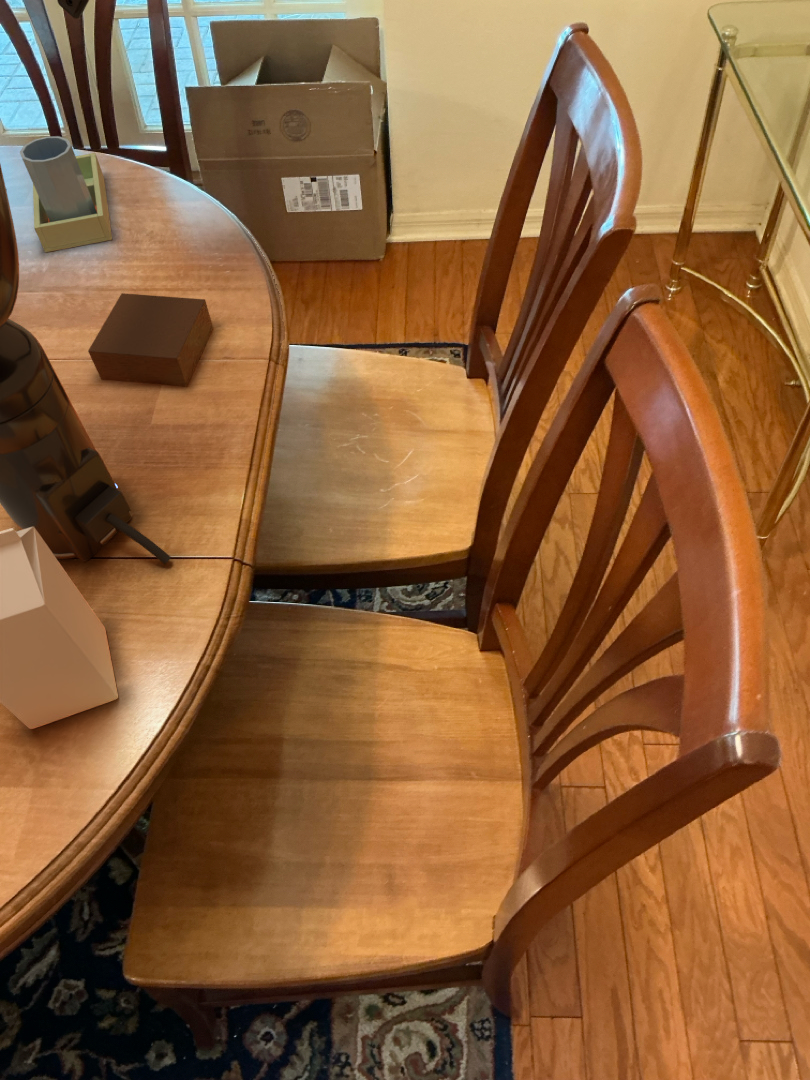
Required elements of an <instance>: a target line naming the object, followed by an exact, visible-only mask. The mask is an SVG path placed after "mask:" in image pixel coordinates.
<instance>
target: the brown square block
mask: <svg viewBox="0 0 810 1080" xmlns="http://www.w3.org/2000/svg"><path fill="white" fill-rule="evenodd" d="M213 330H214V325H213V322H212V318H211V315H210V311H209V308H208V303H207V300H206V299H205V298H193V297H192V298H190V297H181V296H180V297H179V296H177V297H176V296H163V295H151V294H139V293H138V294H137V293H124V292H123V293H122V292H121V293H120V295H119V297H118V298H117V300H116V302H115V304H114V306H113V307H112V309H111V311H110V312H109V314H108V315H107V318H106V320H105V321H104V323H103V325H102V327H101V328H100V330H99V331H98V333H97V334H96V337H95V338H94V340H93V342H92V344H91V345H90V347H89V348H88V351H87V352H88V355H89V356H90V358H91V361H92V363H93V365H94V367H95V369H96V372H97V373H98V376H99V378H100V379H101V380H107V381H108V380H110V381H120V382H132V383H144V384H153V385H154V384H155V385H166V386H177V387H179V386H180V387H188V385H189V383H190V380H191V377H192V376H193V373H194V371H195V369H196V366H197V364H198V362H199V360H200V358H201V356H202V354H203V351H204V350H205V347H206V345H207V343H208V340H209V338H210V336H211V334H212V331H213Z"/></svg>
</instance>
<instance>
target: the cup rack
mask: <svg viewBox="0 0 810 1080" xmlns="http://www.w3.org/2000/svg"><path fill="white" fill-rule="evenodd" d="M75 156H76V159H77V162H78V164H79V167H80V170H81V172H82V175H83V177H84V180H85V183H86V185H87V188H88V190H89V193H90V196H91V198H92V201H93V204H94V206H95V209H96V211H97V214H92V215H87V216H82V217H76V218H71V219H66V220H60V221H55V222H50V221H49V218H48V216H47V214H46V212H45V209H44V207H43V205H42V203H41V200H40V198H39V196H38V193H37V191H36V189H35V187H34V184H33V183H32V197H33V198H32V199H33V200H32V201H33V228H34V231H35V233H36V235H37V238H38V239H39V242H40V244H41V246H42V248H43V250H44V252H45V253H50V252H55V251H60V250H66V249H71V248H76V247H81V246H87V245H91V244H97V243H101V242H107V241H111V240H113V235H112V227H111V222H110V221H111V219H110V213H109V205H108V198H107V190H106V183H105V177H104V173H103V170H102V167H101V165H100V162H99V160H98V157H97V154H96V152H91V153H86V154H80V155H75Z"/></svg>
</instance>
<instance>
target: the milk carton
mask: <svg viewBox="0 0 810 1080" xmlns="http://www.w3.org/2000/svg"><path fill="white" fill-rule="evenodd" d="M118 698H119V693H118V689H117V683H116V678H115V672H114V667H113V662H112V657H111V652H110V646H109V640H108V636H107V631H106V628H105V626H104V624H103V622H102V621H101V620H100V618H99V617H98V615H97V614H96V613H95V612H94V610H93V608H92V607H91V606H90V604H89V603H88V602H87V600H86V599H85V597H84V596H83V594H82V593H81V592H80V590H79V588H78V587H77V586H76V585H75V583H74V581H73V580H72V578H71V577H70V575H69V574H68V573H67V571H66V570H65V569H64V567H63V566H62V564H61V563H60V562H59V559H56V557H55V556H54V554H53V553H52V552H51V550H50V549H49V547H48V546H47V545H46V543H45V542H44V540H43V539H42V537H41V536H40V535H39V533H38V532H37V530H36V529H35V528H34V527H30V528H27V529H23V530H20V529H19V530H17V531H16V529H15V528H13V527H10V528H6V529H3V530H0V704H1V705H2V706H3V707H5V708H6V709H7V711H9V712H10V713H11V714H12V715H14V716H15V717H16V718H17V719H18V720H19V721H20V722H21V723H22V724H23V725H25V727H26V728H28V729H30V730H33V729H36V728H41V727H42V726H45V725H48V724H51V723H53V722H56V721H57V722H58V721H60V720H62V719H65V718H68V717H71V716H73V715H76V714H80V713H82V712H85V711H88V710H90V709H93V708H97V707H99V706H101V705H105V704H107V703H111V702H113V701H115V700H117V699H118Z"/></svg>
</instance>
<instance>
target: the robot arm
mask: <svg viewBox="0 0 810 1080" xmlns="http://www.w3.org/2000/svg"><path fill="white" fill-rule="evenodd" d="M89 2H90V0H57V4H58V5H59V6H60V7H61V9H63V10H64V11H65V12H66V13H67V14H69V15H70V16H71V17H72V18H73V19H77V20H78V19H79V18H80V17H81V16H82V15H83V13H84V12H85V10H86V8H87V5H88V3H89ZM4 179H5V178H4V173H3V170H2V165H1V163H0V505H1V507H2V508H3V509H4V511H5V513H6V514H7V515H8V516H9V517H10V519H11V520H12V522H13V523H14V525H16V527H17V528H18V529H19V531H20V530H23V529H27V528H30V527H34V528H35V529H36V530H37V532H38V533H39V535H40V536H41V537H42V539H43V540H44V542H45V543H46V545H47V546H48V547H49V549H50V550H51V552H52V553H53V554H54V556H55V557H56V559H57V560H71V559H79V560H80V561H82V562H88V561H89V560H90V559H91V558H93V556H95V554H96V553H98V552H99V550H101V549H102V548H103V547H104V546H105V545H106V544H108V542H110V540H112V539H113V537H115V535H116V534H117V533H118V532H119V531H120V532H121V533H123V534H124V535H126V536H127V537H128V538H130V539H132V540H133V541H134V542H136V543H137V544H139V546H141V547H143V548H144V549H145V550H147V552H149V553H150V554H151V555H153V557H155V558H156V559H157V560H159V561H160V562H161V563H162V564H164V565H166V564H167V563H168V562H169V561H170V560H171V559H172V556H171V555H169V554H168V553H167V552H166V551H164V549H162V548H161V547H160V546H159V545H157V544H156V543H155V542H153V540H151V539H150V538H148V537H147V536H146V535H145V534H143V533H142V532H140V531H139V530H137V529H136V528H135V527H133V526H132V525H130V524H129V522H130V521H131V520H132V519H133V516H132V513H131V511H132V510H131V508H130V506H129V504H128V502H127V500H126V498H125V496H124V494H123V493H122V491H120V490H119V488H118V485H117V484H116V483H115V481H114V479H113V476H111V474H110V472H109V469H108V467H107V466H106V464H105V462H104V460H103V458H102V457H101V455H100V453H99V452H98V451H97V449H96V447H95V446H94V443H93V441H92V439H91V438H90V435H89V434H88V432H87V430H86V428H85V426H84V424H83V422H82V420H81V419H80V417H79V415H78V413H77V411H76V409H75V406H74V405H73V403H72V402H71V400H70V397H69V396H68V394H67V392H66V389H65V388H64V386H63V384H62V382H61V380H60V378H59V376H58V374H57V372H56V371H55V368H54V367H53V365H52V363H51V360H50V359H49V357H48V354H47V353H46V351H45V349H44V348H43V346H42V344H41V342H39V340H38V338H37V337H36V336H35V335H34V334H33V333H32V332H31V331H29V330H28V329H27V328H25V327H24V326H22V325H21V324H19V323H17V322H16V321H14V320H12V319H10V317H11V315H12V313H13V311H14V308H15V305H16V302H17V299H18V293H19V287H20V286H19V285H20V258H19V257H20V256H19V250H18V248H19V247H18V242H17V241H18V240H17V236H16V235H17V234H16V230H15V225H14V219H13V215H12V210H11V206H10V201H9V196H8V191H7V187H6V182H5V180H4Z"/></svg>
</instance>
